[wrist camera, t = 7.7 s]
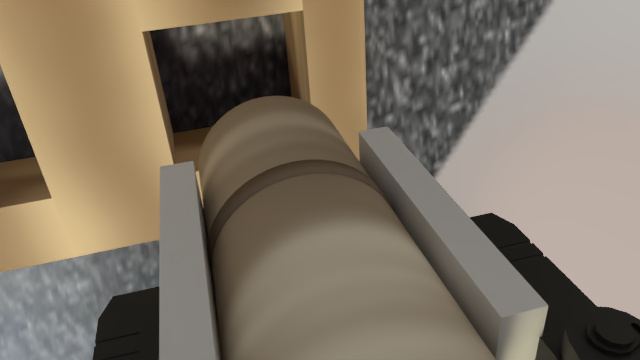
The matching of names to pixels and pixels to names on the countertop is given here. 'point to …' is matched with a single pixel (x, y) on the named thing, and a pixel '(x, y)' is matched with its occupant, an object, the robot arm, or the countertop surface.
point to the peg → (315, 248)
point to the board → (135, 111)
